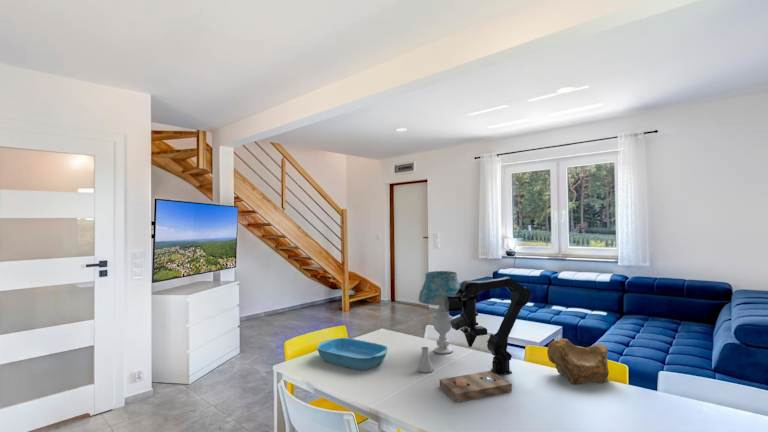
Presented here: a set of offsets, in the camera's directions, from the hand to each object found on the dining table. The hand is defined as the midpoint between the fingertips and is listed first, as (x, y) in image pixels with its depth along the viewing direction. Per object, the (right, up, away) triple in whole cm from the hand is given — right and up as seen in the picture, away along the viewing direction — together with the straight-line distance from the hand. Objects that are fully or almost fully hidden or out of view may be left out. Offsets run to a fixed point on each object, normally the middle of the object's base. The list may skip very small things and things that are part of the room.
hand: (470, 346), depth 164 cm
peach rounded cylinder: (-7, -11, -16) cm, 21 cm away
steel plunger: (+4, -11, -13) cm, 17 cm away
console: (-1, -12, -14) cm, 19 cm away
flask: (-19, -13, +6) cm, 23 cm away
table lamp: (-7, -13, +31) cm, 34 cm away
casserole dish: (-53, -14, +20) cm, 58 cm away
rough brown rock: (+43, -11, -8) cm, 45 cm away
